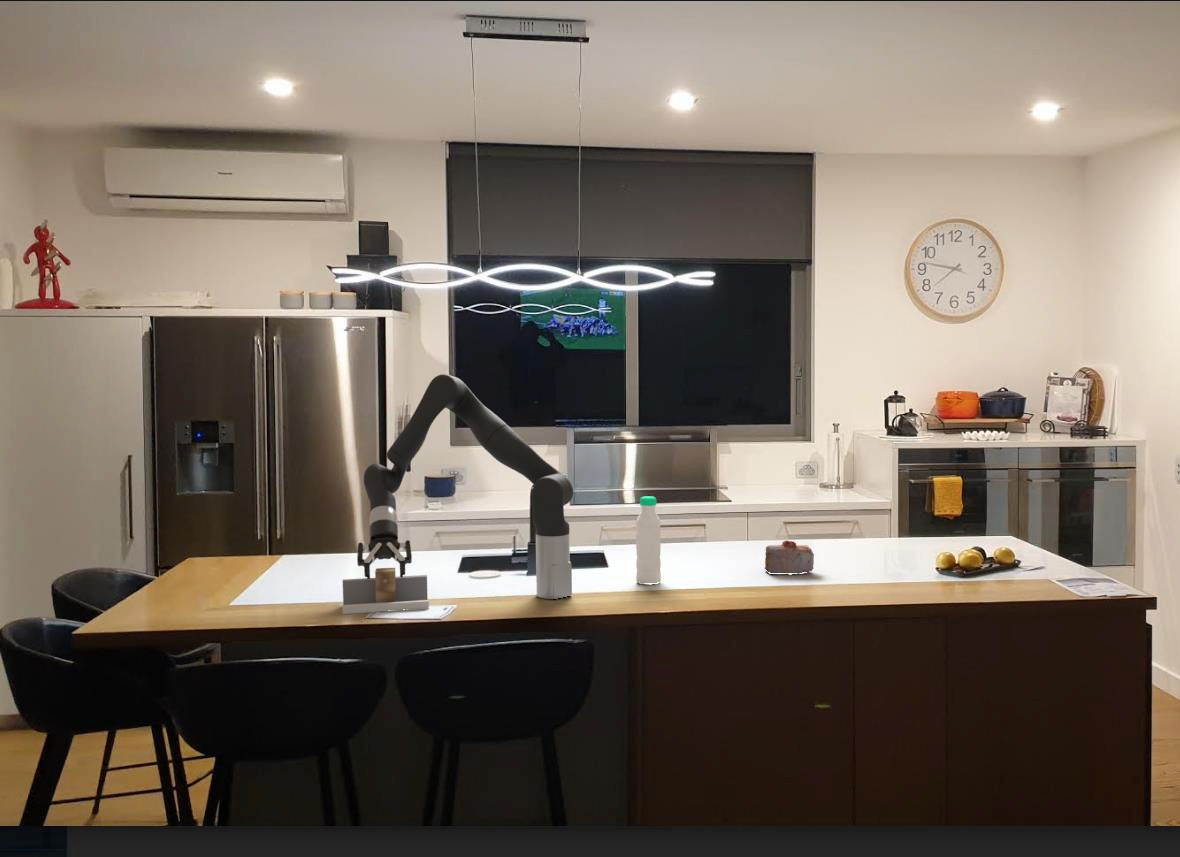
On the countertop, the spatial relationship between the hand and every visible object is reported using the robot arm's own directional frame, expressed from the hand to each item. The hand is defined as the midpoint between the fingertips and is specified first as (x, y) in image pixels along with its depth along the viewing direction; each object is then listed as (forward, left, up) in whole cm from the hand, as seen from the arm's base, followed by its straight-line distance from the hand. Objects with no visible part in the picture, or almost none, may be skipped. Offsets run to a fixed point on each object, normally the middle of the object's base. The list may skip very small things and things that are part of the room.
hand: (385, 576), depth 262 cm
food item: (-41, -112, -8) cm, 119 cm away
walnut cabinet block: (-1, 0, -8) cm, 8 cm away
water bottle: (-24, -71, -8) cm, 75 cm away
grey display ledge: (-1, 0, -8) cm, 8 cm away
